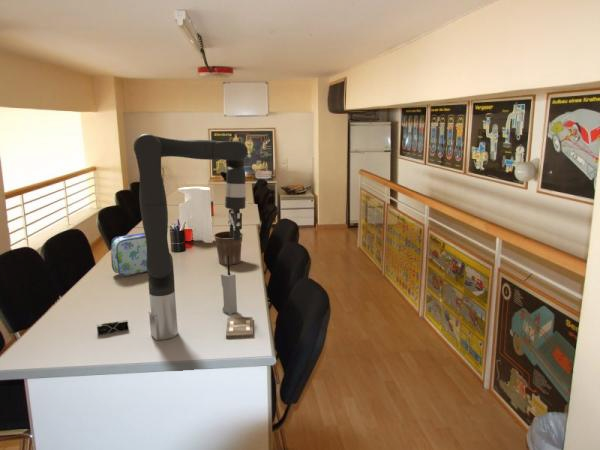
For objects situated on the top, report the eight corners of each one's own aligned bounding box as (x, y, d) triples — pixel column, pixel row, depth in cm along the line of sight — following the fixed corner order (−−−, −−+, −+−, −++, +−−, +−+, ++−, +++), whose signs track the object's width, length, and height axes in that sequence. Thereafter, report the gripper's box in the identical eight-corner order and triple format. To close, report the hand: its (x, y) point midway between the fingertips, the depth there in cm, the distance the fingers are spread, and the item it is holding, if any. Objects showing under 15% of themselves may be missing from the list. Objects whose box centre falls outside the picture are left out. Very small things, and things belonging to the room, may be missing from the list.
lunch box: (157, 264, 276) (154, 227, 271) (166, 268, 268) (163, 231, 263) (111, 274, 259) (107, 235, 254) (119, 279, 251) (115, 239, 246)
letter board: (252, 336, 185) (252, 333, 184) (226, 338, 184) (225, 335, 183) (252, 319, 200) (252, 316, 200) (227, 320, 199) (227, 318, 199)
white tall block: (211, 243, 319) (180, 242, 322) (217, 238, 330) (187, 237, 333) (208, 189, 311) (177, 189, 314) (214, 187, 322) (184, 186, 325)
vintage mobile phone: (229, 309, 211) (226, 253, 205) (237, 312, 208) (234, 255, 202) (222, 311, 208) (219, 255, 203) (230, 314, 205) (227, 257, 200)
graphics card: (96, 336, 188) (95, 326, 186) (96, 332, 190) (94, 322, 188) (128, 330, 192) (127, 320, 190) (128, 326, 194) (127, 316, 192)
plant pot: (242, 266, 270) (241, 238, 266) (212, 266, 270) (211, 238, 266) (245, 257, 285) (244, 230, 282) (218, 258, 286) (216, 231, 282)
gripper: (249, 197, 178) (248, 241, 180) (241, 194, 192) (240, 235, 194) (228, 197, 176) (227, 241, 178) (222, 194, 189) (221, 235, 191)
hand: (234, 238), depth 186 cm, fingers open, 8 cm apart
